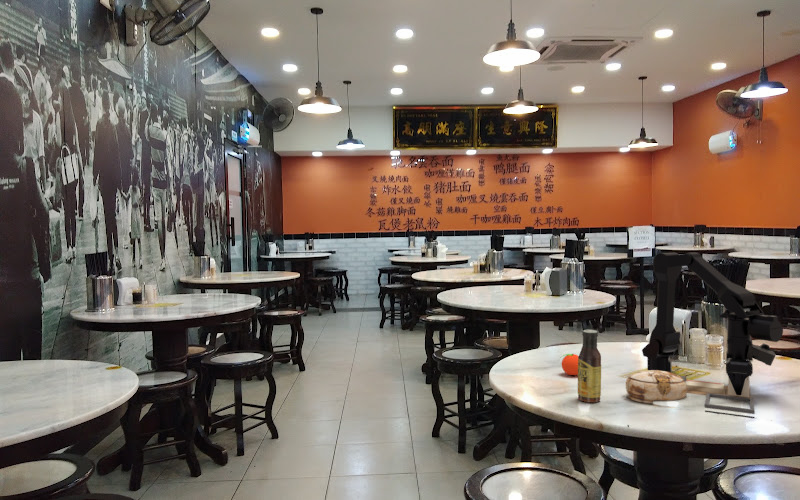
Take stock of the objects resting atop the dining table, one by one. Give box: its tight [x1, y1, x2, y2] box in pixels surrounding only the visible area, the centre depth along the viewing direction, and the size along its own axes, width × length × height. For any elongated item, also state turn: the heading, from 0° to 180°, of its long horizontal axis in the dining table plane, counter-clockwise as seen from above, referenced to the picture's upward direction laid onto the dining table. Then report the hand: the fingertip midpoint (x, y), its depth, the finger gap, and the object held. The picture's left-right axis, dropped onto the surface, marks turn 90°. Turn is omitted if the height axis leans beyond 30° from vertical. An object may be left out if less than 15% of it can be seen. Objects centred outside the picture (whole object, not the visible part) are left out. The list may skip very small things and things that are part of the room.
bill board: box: [679, 375, 752, 398], centre depth 163 cm, size 18×12×4 cm, turn 60°
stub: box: [727, 376, 750, 397], centre depth 160 cm, size 5×6×5 cm
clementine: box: [558, 353, 579, 376], centre depth 186 cm, size 8×7×7 cm
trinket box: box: [625, 370, 688, 404], centre depth 160 cm, size 13×15×8 cm
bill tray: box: [704, 393, 755, 419], centre depth 151 cm, size 11×11×2 cm
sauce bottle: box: [577, 329, 602, 404], centre depth 160 cm, size 7×6×20 cm
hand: (738, 390), depth 160 cm, fingers open, 9 cm apart
